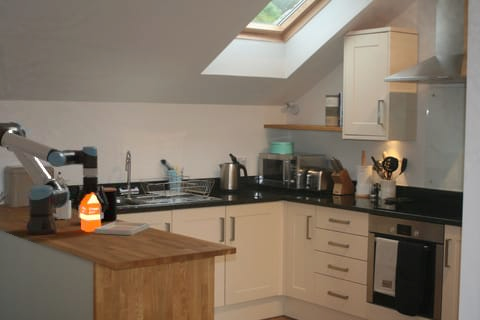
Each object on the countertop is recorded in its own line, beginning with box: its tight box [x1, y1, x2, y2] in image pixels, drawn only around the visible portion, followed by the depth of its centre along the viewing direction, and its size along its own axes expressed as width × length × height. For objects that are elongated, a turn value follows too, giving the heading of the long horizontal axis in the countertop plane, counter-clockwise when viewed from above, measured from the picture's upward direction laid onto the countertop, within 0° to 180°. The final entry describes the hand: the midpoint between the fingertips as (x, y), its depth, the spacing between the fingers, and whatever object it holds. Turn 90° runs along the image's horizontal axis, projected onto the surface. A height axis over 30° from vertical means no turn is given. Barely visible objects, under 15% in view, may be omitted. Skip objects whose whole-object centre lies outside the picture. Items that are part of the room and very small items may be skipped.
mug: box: [53, 199, 72, 220], centre depth 397 cm, size 12×8×10 cm
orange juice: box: [80, 192, 102, 233], centre depth 359 cm, size 8×9×20 cm
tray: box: [93, 221, 150, 236], centre depth 360 cm, size 24×20×2 cm
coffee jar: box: [97, 187, 118, 222], centre depth 392 cm, size 11×11×18 cm
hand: (90, 218), depth 360 cm, fingers closed on orange juice, 11 cm apart
